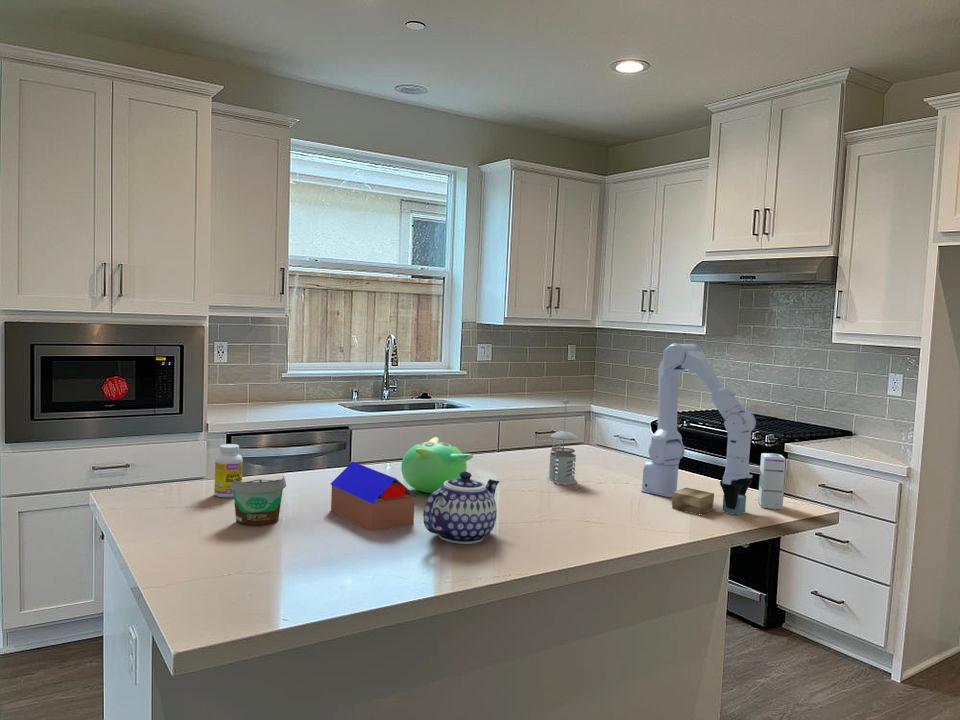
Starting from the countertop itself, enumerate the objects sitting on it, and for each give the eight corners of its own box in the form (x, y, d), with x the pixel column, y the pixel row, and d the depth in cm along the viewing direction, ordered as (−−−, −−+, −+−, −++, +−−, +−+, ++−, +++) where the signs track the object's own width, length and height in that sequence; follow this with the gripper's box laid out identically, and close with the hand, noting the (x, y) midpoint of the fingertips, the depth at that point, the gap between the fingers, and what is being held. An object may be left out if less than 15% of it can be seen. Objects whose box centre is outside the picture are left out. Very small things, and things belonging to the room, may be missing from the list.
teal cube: (722, 511, 194) (723, 495, 194) (728, 508, 197) (729, 492, 197) (739, 515, 191) (740, 498, 191) (745, 512, 195) (746, 495, 194)
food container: (233, 530, 158) (234, 485, 157) (229, 522, 164) (230, 478, 163) (290, 525, 164) (291, 481, 163) (284, 517, 169) (285, 475, 169)
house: (371, 504, 185) (373, 459, 184) (415, 524, 170) (417, 475, 169) (329, 510, 177) (330, 463, 177) (370, 532, 162) (372, 481, 161)
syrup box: (783, 510, 199) (787, 457, 198) (760, 508, 200) (764, 456, 199) (778, 504, 204) (782, 454, 203) (756, 502, 205) (760, 452, 204)
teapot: (447, 559, 147) (450, 487, 146) (397, 541, 157) (400, 473, 156) (522, 533, 166) (526, 469, 165) (474, 518, 176) (476, 458, 175)
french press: (583, 481, 222) (587, 399, 220) (566, 487, 212) (571, 403, 210) (554, 475, 227) (558, 396, 225) (536, 482, 217) (541, 399, 216)
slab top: (672, 501, 195) (672, 492, 195) (685, 496, 201) (686, 487, 201) (700, 507, 189) (700, 498, 189) (713, 502, 195) (714, 493, 195)
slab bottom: (671, 510, 195) (672, 501, 195) (684, 505, 201) (684, 496, 201) (700, 516, 190) (701, 507, 190) (712, 511, 196) (713, 502, 196)
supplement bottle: (224, 499, 182) (225, 449, 181) (208, 494, 186) (210, 445, 185) (247, 495, 187) (248, 446, 186) (231, 490, 191) (233, 442, 190)
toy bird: (456, 483, 210) (458, 433, 209) (474, 499, 194) (476, 444, 193) (395, 485, 205) (397, 434, 204) (408, 501, 189) (410, 445, 188)
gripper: (743, 462, 185) (739, 514, 186) (762, 455, 196) (758, 504, 197) (716, 458, 190) (712, 509, 190) (736, 451, 201) (732, 499, 202)
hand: (734, 506), depth 194 cm, fingers closed on teal cube, 4 cm apart
